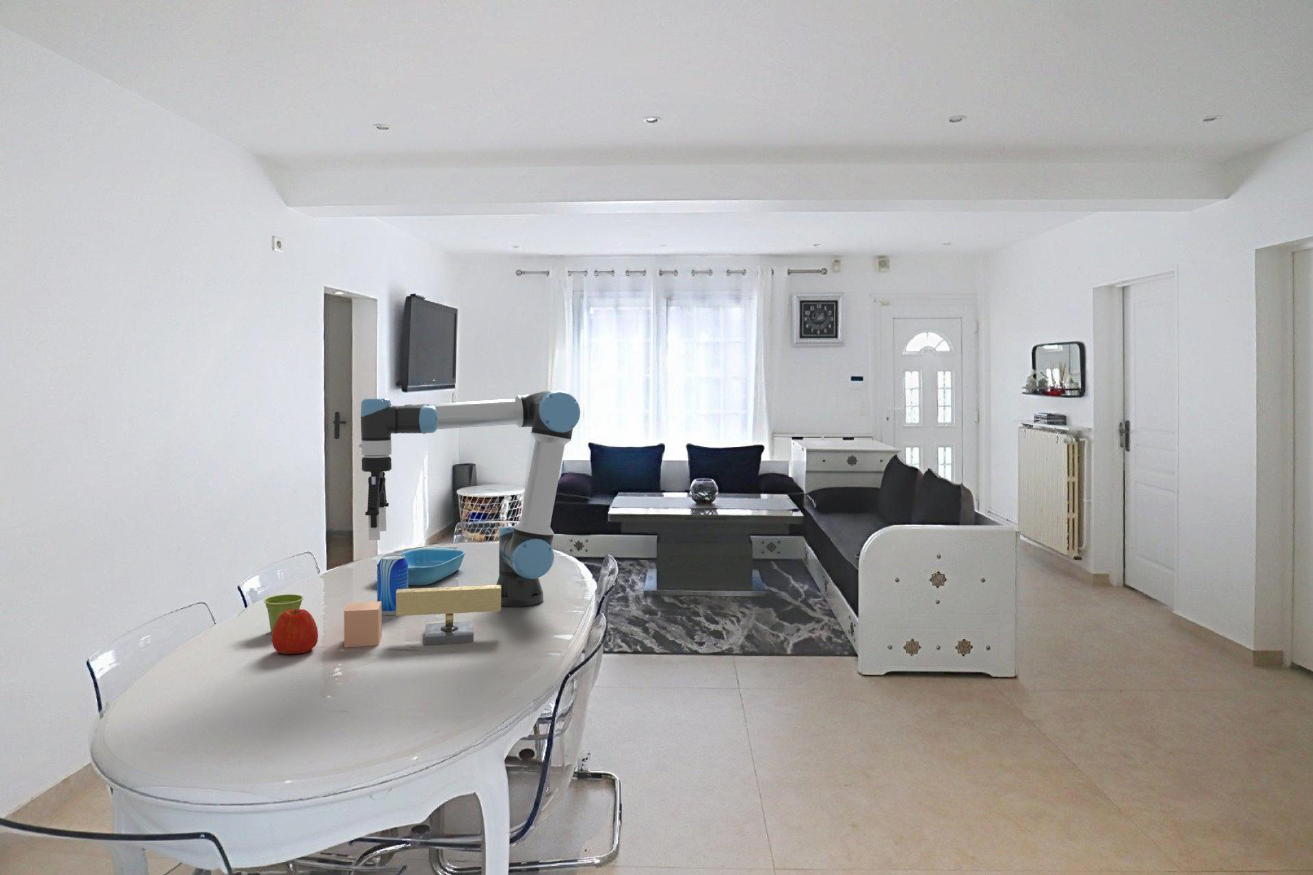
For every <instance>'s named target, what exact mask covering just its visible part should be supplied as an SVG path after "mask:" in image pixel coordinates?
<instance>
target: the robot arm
mask: <svg viewBox="0 0 1313 875" xmlns="http://www.w3.org/2000/svg"><path fill="white" fill-rule="evenodd" d="M580 417H581V408H580V405H579V402H578V400H577V399H576V398H575V397H574V396H573V395H572V394H571V393H568V392H566V391H564V390H557V389H555V390H543V391H539V392H536V393H535V392H534V393H529V394H523V395H521V394H519V395H516V396H515V397H514V398H512V399H511V398H510V399H509V398H508V399H507V398H506V399H492V400H491V399H490V400H478V401H477V400H476V401H473V400H471V401H460V402H459V401H456V402H442V403H441V402H440V403H422V404H404V405H392V402H391V400H390V399H389V398H364V399H362V400H361V402H360V434H361V443H359V444H358V446H359V448H361V455H362V456H363V457H362V458H361V470H362V472H365V473H366V472H367V473H368V472H369V473H370V476H368V477H367V478H368V479H367V480H368V481H367V483H368V492H367V510H366V511H365V513H364V514H365V516H367V517H368V518H367V519H368V541H380V540H381V532H386V531H387V507H388V508H389V504H390V503H389V502H388V500H387V490H386V488H387V487H386V473H385V472H390V471H391V470H392V468H393V467H392V466H393V465H392V458H391V455H392V434H396V435H397V434H422V435H426V434H433V433H436V431H437V430H448V429H463V428H465V429H466V428H478V427H480V428H481V427H495V426H507V425H508V426H510V425H515V426H517V427H518V428H531V432H530V433H531V436H532V437H533V438H534V445H533V451H532V456H531V463H530V468H529V472H528V478H527V484H526V489H525V495H524V498H523V499H524V500H523V504H522V505H523V506H522V511H521V516H520V521H519V522H518V523H516V525H511V526H510V525H509V526H502V527H501V528H499V533H498V534H499V535H498V545H499V546H498V570H499V571H498V579H497V581H496V583H495V585H501V607H502V606H503V607H529V606H534V605H538V604H540V603H542V602H543V601H544V591H543V587H542V584H541V581H540V578H541V577H543V576H544V575H546V574H548V572H549V571H550V570H551V568H552V566H553V565H554V561H555V553H554V549H553V547H552V546H553V541H554V536H555V531H553V529H552V527H551V523H552V516H553V512H554V506H555V500H556V495H557V490H558V486H559V485H558V484H559V479H560V474H561V472H560V471H561V467H562V462H563V456H564V451H565V446H566V445H567V444H569V442H570V441H572V438H573V437H572V436H573V431H574V428H575V427H576V425H577V424H578V423H579V421H580Z"/></svg>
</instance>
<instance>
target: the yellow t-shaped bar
mask: <svg viewBox="0 0 1313 875" xmlns="http://www.w3.org/2000/svg"><path fill="white" fill-rule="evenodd" d="M485 612H488V613H489V612H502V605H501V585H496V584H494V585H493V584H491V585H489V584H488V585H469V586H467V585H466V586H447V587H446V586H445V587H422V588H421V587H420V588H416V587H415V588H408V589H397V591H396V615H395V616H396V617H407V616H426V615H427V616H429V615H445V616H444V617H445V618H444V619H445V622H444V623H445V627H447V628H451V627H453V622H454V614H465V613H467V614H468V613H485Z"/></svg>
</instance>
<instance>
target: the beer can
mask: <svg viewBox="0 0 1313 875" xmlns="http://www.w3.org/2000/svg"><path fill="white" fill-rule="evenodd" d="M378 562H379V563H378ZM378 562H377V563H378V565H377V564H376V574H377V575H376V579H377V580H376V586H377V587H376V589H377V590H376V591H377V592H376V595H377V596H376V597H377V598H376V599H377V600H376V602H379V601H382V615H383V616H396V591H397V589H409V585H408V563H407V561H406V560H405V556H404V555H397V554H386V555H382V556H380V560H379V561H378Z"/></svg>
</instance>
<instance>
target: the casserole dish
mask: <svg viewBox="0 0 1313 875" xmlns="http://www.w3.org/2000/svg"><path fill="white" fill-rule="evenodd" d="M465 554H466V550H463V549H462V550H461V549H454V548H443V547H442V548H441V547H440V548H439V547H437V548H436V547H435V548H416V549H415V548H414V549H409V550H406V551H404V552H400V553H398V554H396V555H404V556H405V560H406V561H407V563H408V586H428V585H431V584H434V583H436V582H440V580H442V579H444V578H447V577H449V576H450V575H452V574H455V572H457V571H459V569H460V568H461V566H462V563H463V560H464V557H465ZM378 563H379V561H378V562H377V563H376V566H377V565H378Z"/></svg>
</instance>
